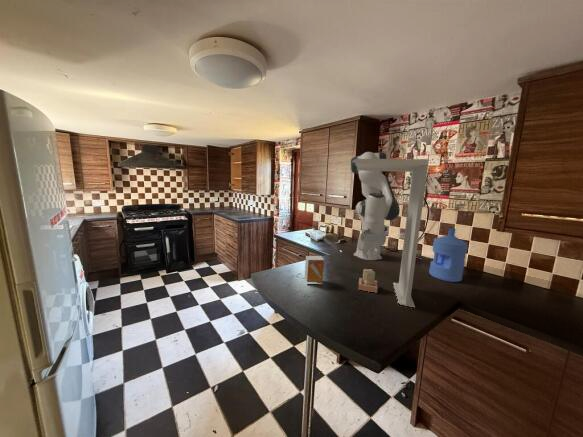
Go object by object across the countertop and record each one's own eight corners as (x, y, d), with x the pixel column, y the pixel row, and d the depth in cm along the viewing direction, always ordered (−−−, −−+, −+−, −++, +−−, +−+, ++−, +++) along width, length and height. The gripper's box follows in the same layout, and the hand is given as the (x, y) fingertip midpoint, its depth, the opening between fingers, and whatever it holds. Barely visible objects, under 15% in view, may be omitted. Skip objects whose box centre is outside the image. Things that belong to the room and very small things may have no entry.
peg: (361, 286, 112) (363, 269, 111) (369, 286, 113) (371, 269, 111) (365, 290, 108) (367, 272, 107) (373, 290, 109) (375, 272, 107)
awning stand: (348, 277, 123) (357, 163, 114) (406, 286, 114) (421, 164, 105) (344, 295, 102) (355, 158, 93) (414, 308, 93) (434, 159, 84)
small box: (306, 285, 111) (308, 259, 109) (304, 279, 117) (305, 255, 115) (322, 285, 112) (324, 259, 110) (319, 279, 118) (321, 255, 116)
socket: (358, 283, 116) (359, 277, 115) (376, 286, 113) (376, 280, 113) (358, 290, 108) (358, 284, 107) (376, 293, 105) (377, 287, 105)
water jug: (451, 272, 136) (458, 226, 132) (468, 283, 121) (477, 232, 117) (423, 270, 138) (430, 225, 134) (437, 281, 122) (445, 230, 118)
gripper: (368, 231, 97) (365, 263, 99) (389, 227, 110) (386, 254, 112) (355, 229, 101) (352, 259, 103) (377, 225, 115) (374, 251, 117)
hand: (370, 256), depth 108 cm, fingers open, 8 cm apart
